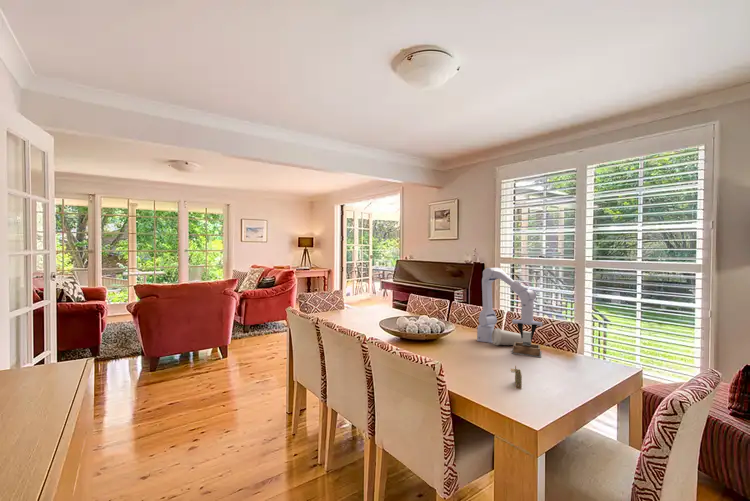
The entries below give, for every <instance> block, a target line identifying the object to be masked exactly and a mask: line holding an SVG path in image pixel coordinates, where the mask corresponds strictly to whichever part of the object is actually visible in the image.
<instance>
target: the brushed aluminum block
mask: <svg viewBox="0 0 750 501" xmlns="http://www.w3.org/2000/svg"><path fill="white" fill-rule="evenodd" d="M522 343H523V345H525V346H531V344H532V339H531V331H525V330H523V342H522Z"/></svg>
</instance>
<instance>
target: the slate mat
mask: <svg viewBox="0 0 750 501" xmlns="http://www.w3.org/2000/svg"><path fill="white" fill-rule="evenodd" d="M511 354H513V355H520V356H527V357H536V358H542V351H541V350H540V356H537V355H529V354H522V353H514V352H513V349H512V350H511Z"/></svg>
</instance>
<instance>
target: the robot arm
mask: <svg viewBox="0 0 750 501" xmlns="http://www.w3.org/2000/svg"><path fill="white" fill-rule="evenodd" d="M497 279H499V280H501V281H502V282H504V283H505V284H507V285H508V286H509V287H510V290H511V291H512V292H514V293H515V294H516V295H517V296H518V298H519V299H520V305H521V309H520V310H521V313H520V314H521V319H513V318H512V320H511V321H512V322H511V324H516V325H517V327H518V330H519V334H521V338H523V331H524V330H523V329H524V325H527V326H531V331H530V332H531V340H533V337H534V334H535V332H536V330H537V327H543V321H537V320H534V300H535V299H536V298H537V295H536V291H535V290H534V289H529V288H528V286H525V285H524V284H522V282H521V281H518V280H514V279H512V278H511V276H509V275H508V274H507V273H506V272H505V271H504V269H502V268H501V267H499V266H498V267H497V266H496V267H486V268H485V269H483V271H482V278H481V291H482V292H481V293H482V294H481V295H482V297H481V298H482V310H481V311H480V312H479V317H478V323H479V324H477V328H476V329H477V330H476V332H477V334H476V336H477V337H476V342H483V343H490V344H494V343H493V342H492V331H493V330H494V329H495V325H496V324H497V322H498V318H497V315H496V311H495V310H494V308H493V286H492V283H493V282H495V281H496V280H497Z"/></svg>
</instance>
